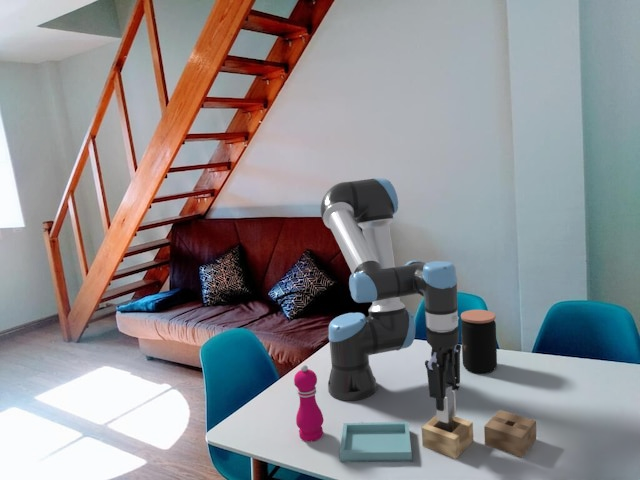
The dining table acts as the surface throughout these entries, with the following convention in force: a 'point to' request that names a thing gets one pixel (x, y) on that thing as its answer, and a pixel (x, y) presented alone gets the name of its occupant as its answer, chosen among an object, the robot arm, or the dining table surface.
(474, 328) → the coffee jar
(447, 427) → the cylinder
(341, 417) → the dining table surface
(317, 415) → the pepper mill
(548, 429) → the dining table surface
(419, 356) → the dining table surface
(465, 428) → the oak block wide bore
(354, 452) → the teal tray
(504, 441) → the walnut block narrow bore
